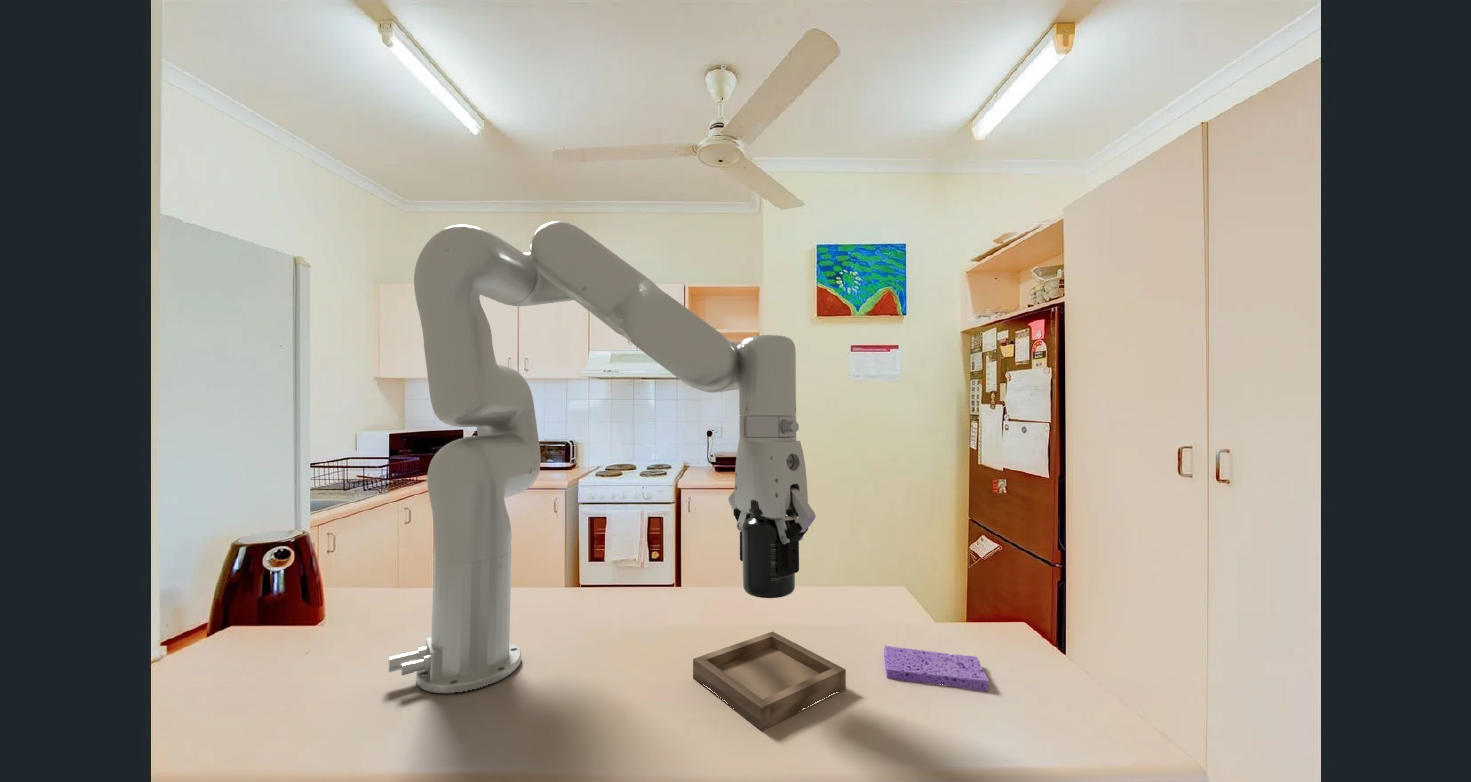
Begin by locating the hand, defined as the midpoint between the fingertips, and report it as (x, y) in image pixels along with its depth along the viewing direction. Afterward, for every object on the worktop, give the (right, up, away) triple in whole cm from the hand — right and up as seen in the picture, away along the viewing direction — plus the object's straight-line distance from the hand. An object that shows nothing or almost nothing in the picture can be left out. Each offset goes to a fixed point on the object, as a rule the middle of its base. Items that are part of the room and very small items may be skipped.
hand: (768, 565), depth 66 cm
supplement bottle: (0, -3, 0) cm, 3 cm away
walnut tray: (0, -15, -1) cm, 15 cm away
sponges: (+22, -16, +3) cm, 28 cm away
